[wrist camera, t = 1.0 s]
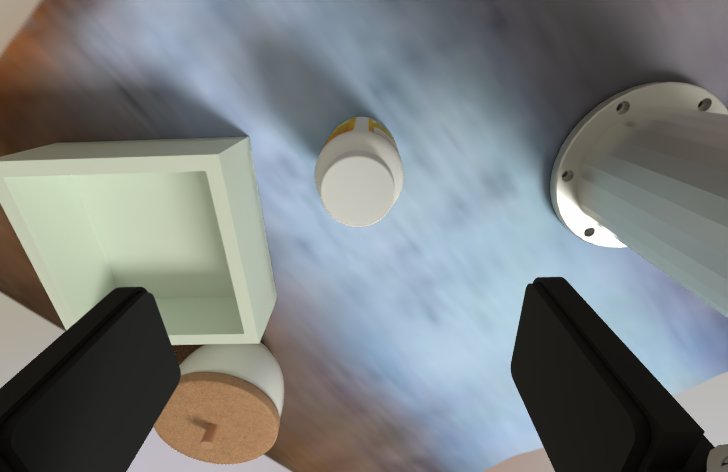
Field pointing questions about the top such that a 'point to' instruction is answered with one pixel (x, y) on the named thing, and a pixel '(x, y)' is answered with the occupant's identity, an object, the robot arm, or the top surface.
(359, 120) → the supplement bottle
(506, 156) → the top surface
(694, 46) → the top surface
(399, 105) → the top surface
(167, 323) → the bin
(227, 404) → the lidded jar
